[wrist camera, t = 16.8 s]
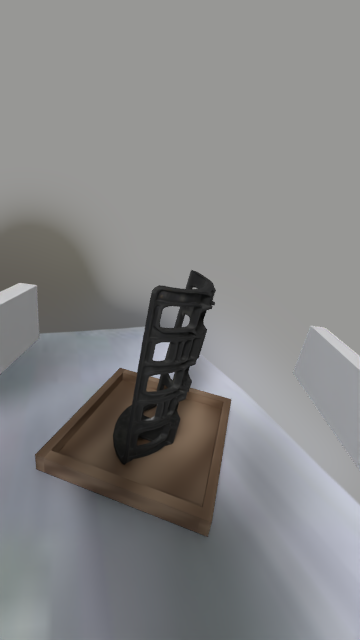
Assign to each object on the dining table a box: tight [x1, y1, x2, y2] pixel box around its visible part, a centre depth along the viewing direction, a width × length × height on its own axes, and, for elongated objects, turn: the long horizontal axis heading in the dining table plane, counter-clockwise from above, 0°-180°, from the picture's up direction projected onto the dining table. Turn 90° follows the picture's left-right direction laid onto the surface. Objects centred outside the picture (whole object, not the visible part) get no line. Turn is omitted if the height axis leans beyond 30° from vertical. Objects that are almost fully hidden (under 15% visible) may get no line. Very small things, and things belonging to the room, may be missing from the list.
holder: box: [113, 270, 216, 465], centre depth 30 cm, size 11×8×20 cm
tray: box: [35, 368, 231, 537], centre depth 33 cm, size 18×18×2 cm
